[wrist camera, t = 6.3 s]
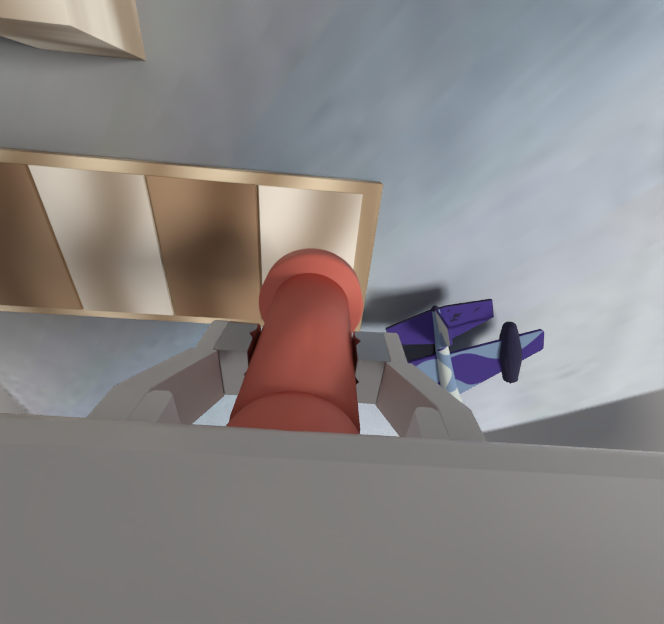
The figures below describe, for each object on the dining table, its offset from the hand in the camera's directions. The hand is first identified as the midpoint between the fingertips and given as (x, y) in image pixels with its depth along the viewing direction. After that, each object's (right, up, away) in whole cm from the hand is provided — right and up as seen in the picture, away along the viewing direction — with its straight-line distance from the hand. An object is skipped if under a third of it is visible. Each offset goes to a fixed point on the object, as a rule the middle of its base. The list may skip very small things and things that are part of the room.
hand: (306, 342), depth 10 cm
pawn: (0, +2, +3) cm, 4 cm away
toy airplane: (+10, -3, +14) cm, 17 cm away
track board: (-10, +5, +9) cm, 14 cm away
